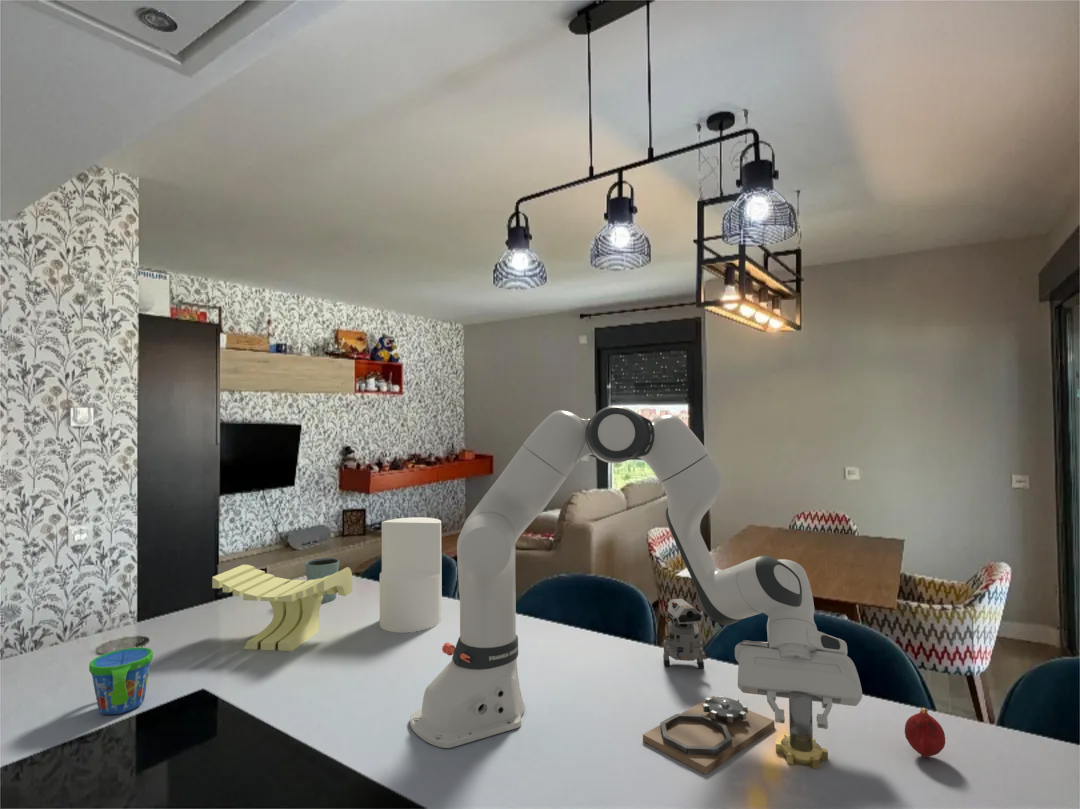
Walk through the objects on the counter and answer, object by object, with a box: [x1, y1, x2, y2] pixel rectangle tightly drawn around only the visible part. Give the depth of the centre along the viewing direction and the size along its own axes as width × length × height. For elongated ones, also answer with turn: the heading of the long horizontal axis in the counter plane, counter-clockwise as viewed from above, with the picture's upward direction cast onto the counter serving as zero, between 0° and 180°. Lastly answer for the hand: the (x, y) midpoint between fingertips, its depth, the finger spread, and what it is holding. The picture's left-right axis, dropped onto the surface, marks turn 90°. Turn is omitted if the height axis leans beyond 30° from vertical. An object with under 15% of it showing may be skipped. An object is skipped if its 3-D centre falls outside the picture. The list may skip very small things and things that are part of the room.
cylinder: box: [379, 516, 443, 634], centre depth 169 cm, size 17×17×28 cm
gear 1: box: [703, 694, 749, 722], centre depth 111 cm, size 8×8×3 cm
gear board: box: [642, 695, 775, 775], centre depth 108 cm, size 22×13×2 cm, turn 130°
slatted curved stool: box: [211, 564, 353, 652], centre depth 157 cm, size 30×16×18 cm, turn 83°
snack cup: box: [88, 646, 154, 715], centre depth 120 cm, size 16×10×10 cm
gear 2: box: [775, 691, 829, 770], centre depth 101 cm, size 8×8×10 cm
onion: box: [904, 707, 946, 758], centre depth 101 cm, size 6×6×8 cm
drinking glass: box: [305, 557, 340, 604], centre depth 191 cm, size 10×10×12 cm
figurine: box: [662, 597, 709, 669], centre depth 136 cm, size 9×12×15 cm
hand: (801, 724), depth 101 cm, fingers open, 5 cm apart
